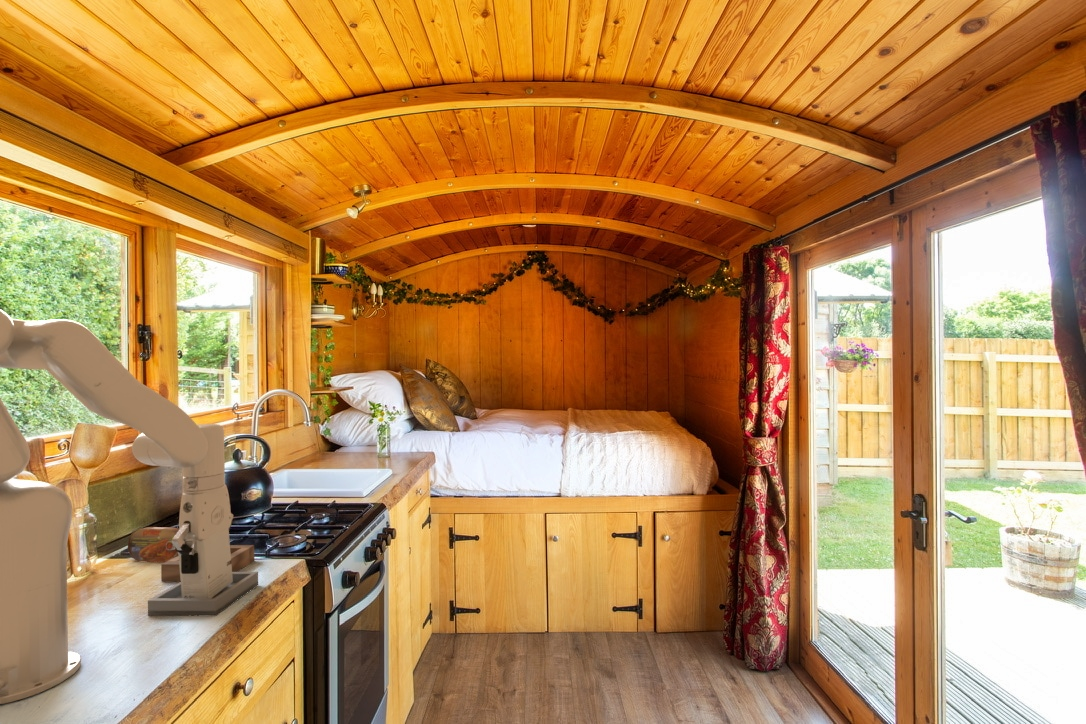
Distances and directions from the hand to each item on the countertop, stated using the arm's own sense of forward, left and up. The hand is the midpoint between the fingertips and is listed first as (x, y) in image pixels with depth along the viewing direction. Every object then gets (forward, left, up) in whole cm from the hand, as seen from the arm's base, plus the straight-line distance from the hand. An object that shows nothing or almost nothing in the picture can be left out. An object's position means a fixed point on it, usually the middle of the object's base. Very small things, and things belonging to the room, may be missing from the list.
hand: (205, 564), depth 109 cm
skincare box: (+1, 0, -6) cm, 6 cm away
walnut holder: (+15, +10, -8) cm, 20 cm away
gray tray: (0, 0, -8) cm, 8 cm away
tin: (+22, +29, -8) cm, 37 cm away
